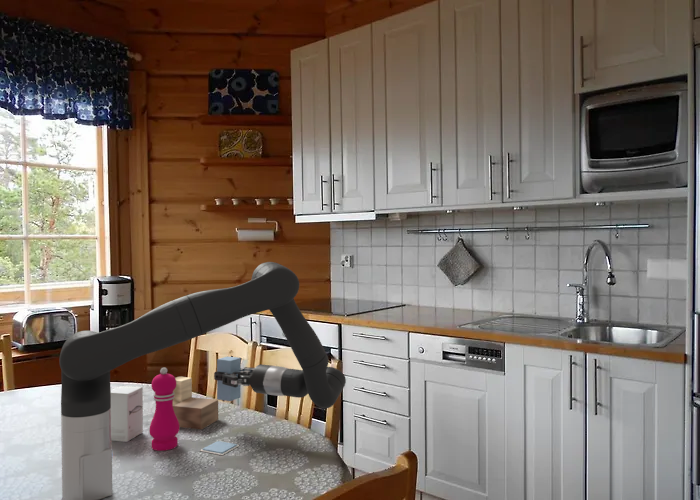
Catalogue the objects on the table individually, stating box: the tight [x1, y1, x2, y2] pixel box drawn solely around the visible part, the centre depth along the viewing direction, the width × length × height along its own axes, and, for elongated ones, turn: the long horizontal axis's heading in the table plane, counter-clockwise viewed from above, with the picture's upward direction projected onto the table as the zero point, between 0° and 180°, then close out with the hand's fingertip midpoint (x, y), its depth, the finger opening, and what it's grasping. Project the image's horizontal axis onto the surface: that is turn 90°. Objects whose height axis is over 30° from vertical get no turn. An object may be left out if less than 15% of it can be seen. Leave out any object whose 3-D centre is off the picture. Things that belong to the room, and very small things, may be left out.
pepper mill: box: [149, 367, 180, 452], centre depth 142 cm, size 7×7×20 cm
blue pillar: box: [216, 355, 242, 402], centre depth 155 cm, size 4×4×11 cm
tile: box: [199, 440, 240, 456], centre depth 141 cm, size 7×7×1 cm
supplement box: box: [111, 385, 144, 443], centre depth 150 cm, size 7×7×13 cm
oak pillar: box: [173, 376, 193, 406], centre depth 168 cm, size 4×4×11 cm
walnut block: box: [173, 396, 219, 430], centre depth 161 cm, size 9×9×6 cm
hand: (221, 373), depth 156 cm, fingers closed on blue pillar, 4 cm apart
